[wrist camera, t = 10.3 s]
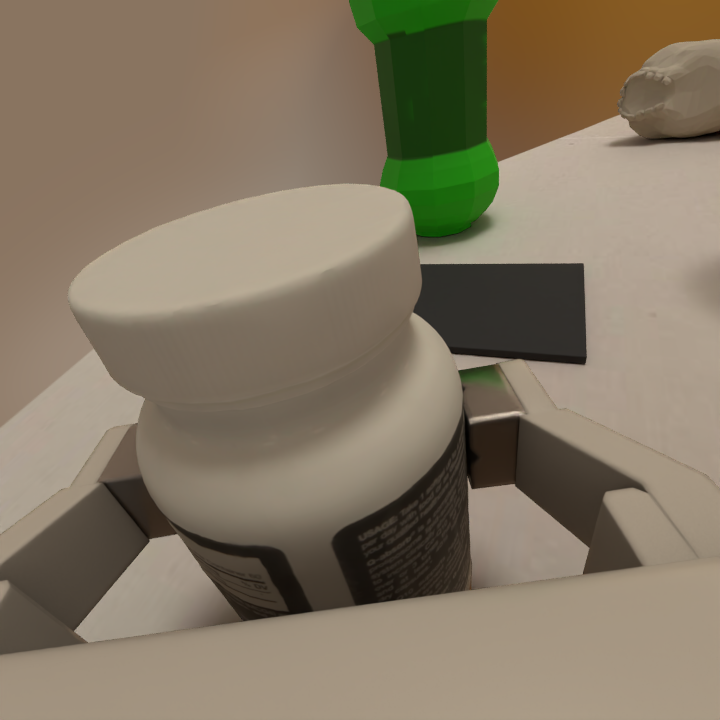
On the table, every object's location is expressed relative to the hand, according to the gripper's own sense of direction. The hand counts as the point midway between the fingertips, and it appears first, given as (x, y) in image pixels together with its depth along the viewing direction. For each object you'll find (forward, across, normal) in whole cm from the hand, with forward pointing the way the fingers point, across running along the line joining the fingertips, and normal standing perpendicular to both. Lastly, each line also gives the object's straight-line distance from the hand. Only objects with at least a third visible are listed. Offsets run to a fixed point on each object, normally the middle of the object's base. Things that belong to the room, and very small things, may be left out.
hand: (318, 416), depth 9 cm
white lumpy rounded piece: (+45, -42, +6) cm, 62 cm away
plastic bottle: (+30, -9, +6) cm, 32 cm away
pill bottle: (-1, 0, +6) cm, 6 cm away
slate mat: (+17, -4, +6) cm, 18 cm away
